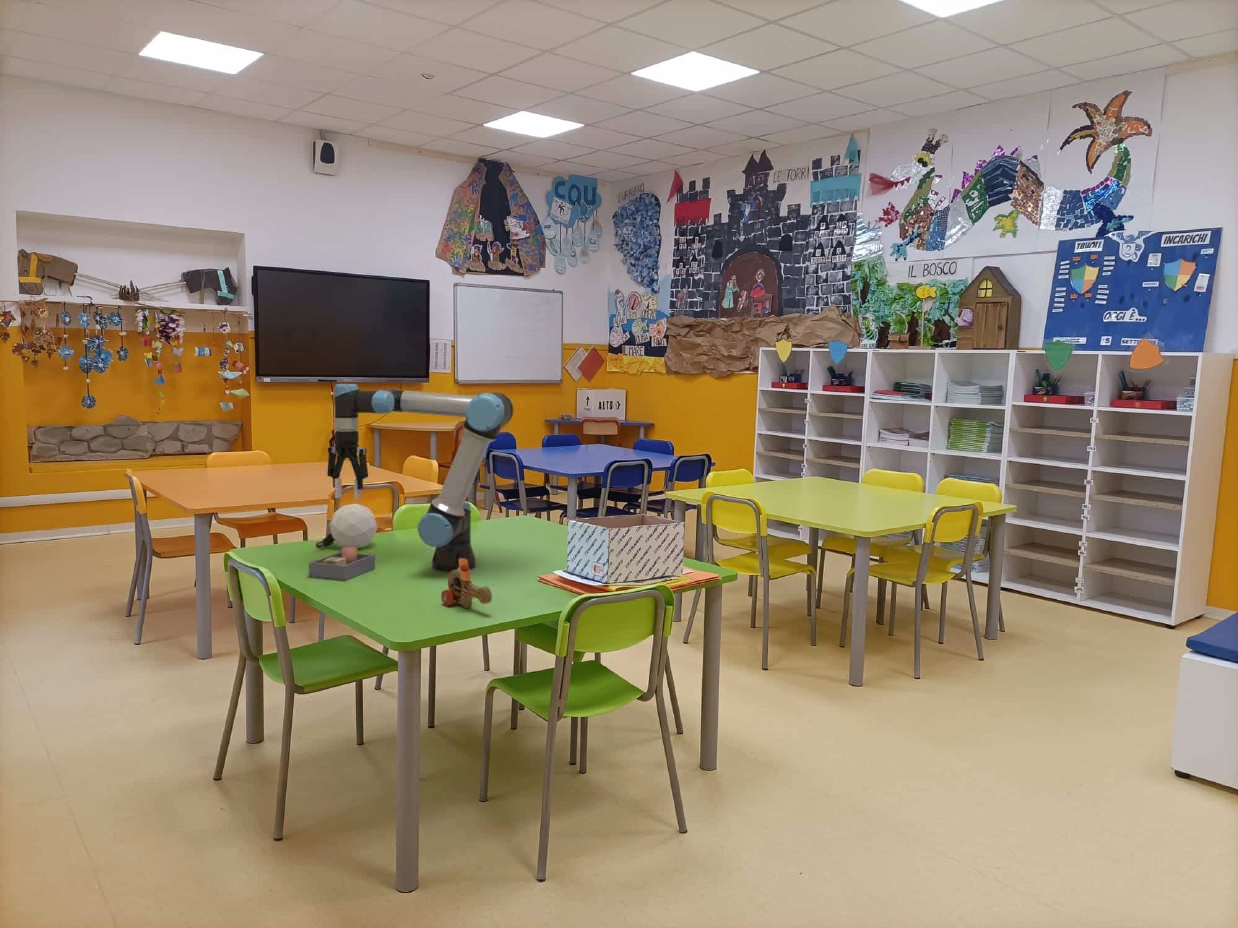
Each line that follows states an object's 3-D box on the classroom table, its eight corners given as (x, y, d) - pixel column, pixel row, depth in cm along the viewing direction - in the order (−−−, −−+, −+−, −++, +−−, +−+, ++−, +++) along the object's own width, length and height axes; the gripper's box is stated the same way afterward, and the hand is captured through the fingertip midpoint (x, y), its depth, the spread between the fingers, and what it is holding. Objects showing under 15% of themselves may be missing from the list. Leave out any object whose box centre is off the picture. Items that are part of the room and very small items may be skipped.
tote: (340, 565, 303) (340, 551, 302) (375, 569, 299) (374, 554, 298) (309, 577, 286) (308, 562, 285) (344, 581, 282) (344, 566, 281)
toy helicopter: (462, 598, 264) (462, 554, 262) (501, 614, 249) (501, 567, 247) (438, 603, 258) (438, 558, 257) (477, 619, 243) (477, 571, 241)
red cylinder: (360, 567, 298) (359, 547, 297) (351, 570, 293) (351, 550, 292) (347, 566, 299) (347, 546, 298) (338, 569, 294) (338, 548, 294)
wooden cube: (346, 572, 290) (345, 557, 289) (337, 576, 285) (337, 561, 285) (333, 571, 291) (332, 556, 291) (324, 574, 287) (323, 560, 286)
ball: (378, 536, 321) (347, 480, 323) (319, 569, 321) (289, 513, 323) (391, 534, 339) (362, 481, 340) (335, 565, 339) (306, 512, 340)
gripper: (378, 430, 291) (380, 498, 294) (328, 428, 297) (329, 494, 300) (366, 432, 284) (367, 501, 287) (314, 429, 290) (316, 498, 292)
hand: (348, 498), depth 293 cm, fingers open, 7 cm apart
